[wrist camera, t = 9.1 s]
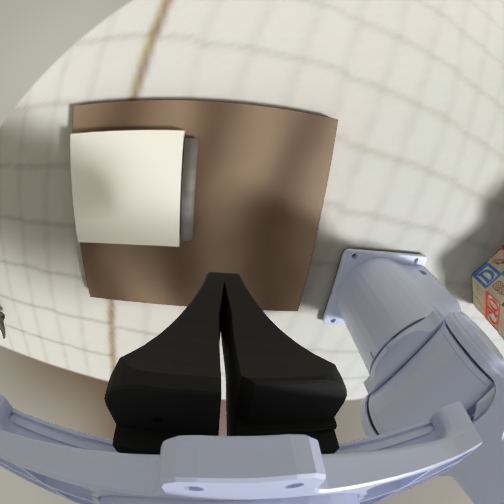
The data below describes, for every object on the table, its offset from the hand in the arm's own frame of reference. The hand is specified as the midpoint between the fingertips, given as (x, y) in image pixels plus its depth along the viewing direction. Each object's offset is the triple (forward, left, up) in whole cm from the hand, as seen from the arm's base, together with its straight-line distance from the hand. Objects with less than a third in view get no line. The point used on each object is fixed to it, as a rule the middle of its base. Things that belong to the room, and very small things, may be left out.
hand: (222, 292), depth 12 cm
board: (+2, 0, -10) cm, 10 cm away
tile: (+7, -2, -8) cm, 11 cm away
